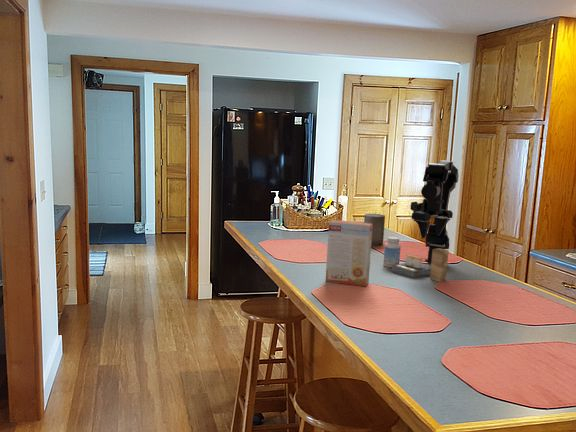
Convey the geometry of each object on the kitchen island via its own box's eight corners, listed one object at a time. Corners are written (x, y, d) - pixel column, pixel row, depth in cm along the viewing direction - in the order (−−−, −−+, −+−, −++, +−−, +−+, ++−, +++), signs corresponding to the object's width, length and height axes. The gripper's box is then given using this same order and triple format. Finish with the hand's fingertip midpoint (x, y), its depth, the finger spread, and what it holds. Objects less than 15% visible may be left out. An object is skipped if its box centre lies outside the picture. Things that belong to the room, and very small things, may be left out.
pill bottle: (399, 268, 203) (401, 240, 201) (383, 266, 204) (385, 238, 203) (398, 264, 209) (401, 237, 207) (383, 263, 210) (385, 235, 208)
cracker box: (368, 283, 180) (373, 223, 177) (365, 287, 174) (370, 225, 171) (329, 277, 184) (333, 218, 181) (324, 281, 179) (328, 221, 176)
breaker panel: (412, 268, 205) (413, 261, 204) (433, 274, 197) (434, 267, 196) (391, 271, 197) (392, 264, 197) (413, 278, 189) (413, 271, 189)
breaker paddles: (408, 263, 200) (409, 254, 199) (422, 267, 195) (423, 258, 194) (404, 264, 199) (405, 255, 198) (418, 268, 193) (419, 258, 193)
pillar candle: (386, 243, 252) (388, 212, 250) (378, 246, 244) (380, 214, 241) (367, 240, 257) (369, 210, 255) (359, 243, 249) (361, 212, 247)
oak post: (436, 277, 192) (439, 248, 191) (445, 280, 189) (448, 250, 188) (429, 278, 190) (432, 249, 188) (438, 281, 187) (441, 251, 185)
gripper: (430, 193, 211) (427, 231, 214) (401, 195, 199) (398, 235, 202) (455, 196, 203) (451, 236, 205) (426, 199, 191) (422, 241, 194)
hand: (430, 237), depth 202 cm, fingers open, 9 cm apart
